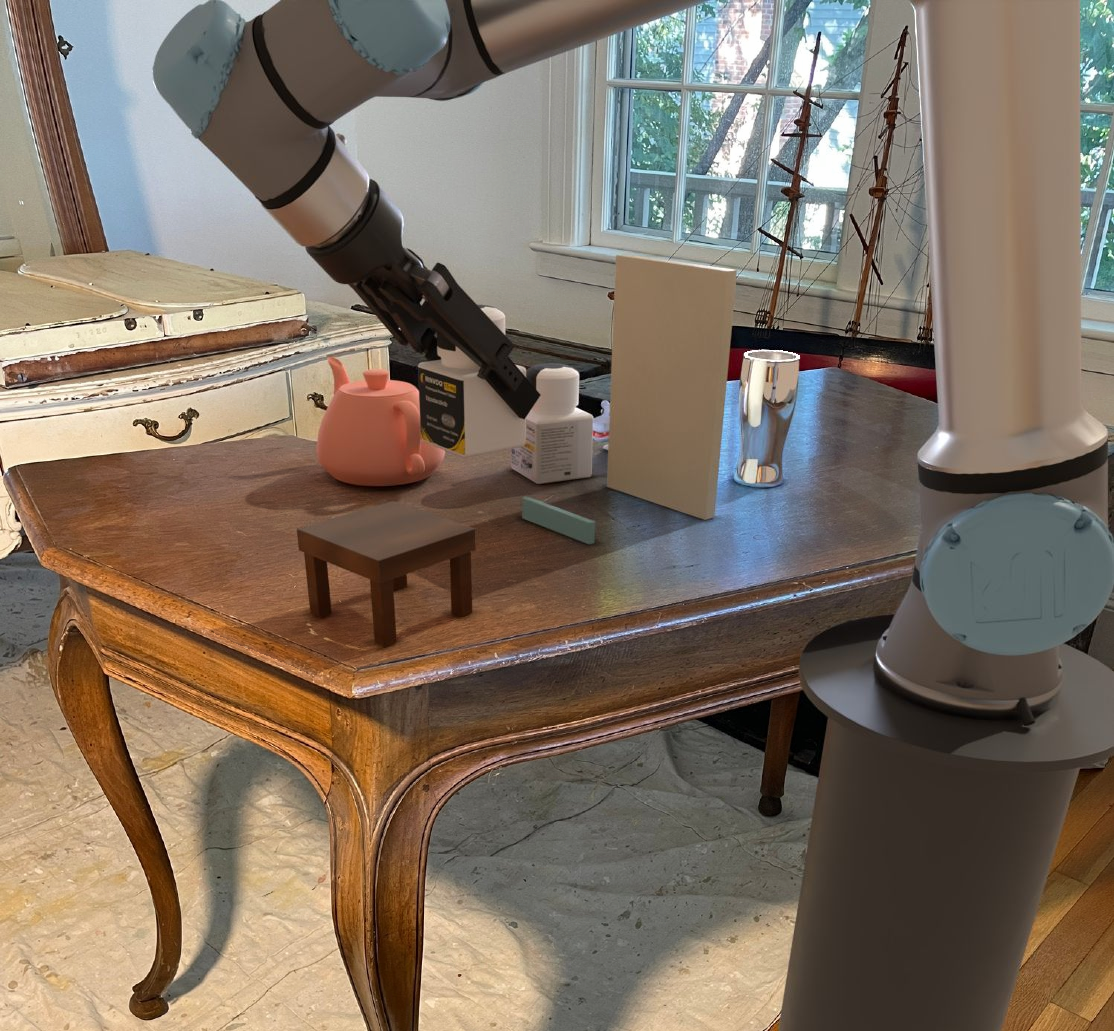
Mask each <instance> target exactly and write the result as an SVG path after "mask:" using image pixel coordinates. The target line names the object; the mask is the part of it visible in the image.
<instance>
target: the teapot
mask: <svg viewBox="0 0 1114 1031" xmlns="http://www.w3.org/2000/svg"><path fill="white" fill-rule="evenodd" d="M327 363H328V365H329V367H330V369H331V372H332V376H333V396H332V398H331V400H330V402H329V404H328V405H327V408H326V410H325V412H324V413H323V414H324V415H323V416H322V419H321V422H320V425H319V428H318V431H317V432H318V433H317V438H316V458H317V460H318V462H319V463H320V465H321V466H322V467H323V468H324V469H325V471H327V472H328V474H330V475H331V476H332V477H333V478H334V479H335V480H338V481H340V482H343V483H346V484H350V485H356V486H364V487H390V486H391V487H392V486H398V485H399V486H400V485H407V484H412V483H415V482H420V481H422V480H425V479H427V478H429V477H431V476H432V475H433V474H434V473H435V471H436V470H437V469H438V467H440V465H441V463H442V462H443V460H444V458H445V456H446V455H445V454H446V451H445V450H443V449H440V448H438V447H435V446H432V445H430V444H427V443H425V442H423V441H422V440H421V428H420V405H419V389H418V388H417V386H416V385H413V384H412V383H409V382H406V381H401V380H396V379H395V380H394V379H389V378H390V371H389V370H386V369H382V368H373V369H372V368H371V369H367V370H364V371H363V372H362V376H363V378H364V380H357V381H352V382H351V380H350V377H349V374H348V372H347V369H346V367H345V365H344V364H343V362H341V360H339V359H338V358H337V357H333V356H328V357H327Z"/></svg>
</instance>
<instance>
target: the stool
mask: <svg viewBox="0 0 1114 1031" xmlns="http://www.w3.org/2000/svg"><path fill="white" fill-rule="evenodd" d="M296 535H297V536H296V538H297V545H298V551H299V552H302V553H303V556H304V566H305V575H306V585H307V595H308V604H309V614H311V615H312V616H315V617H317V618H319V619H320V618H323V617H325V616H329V615H331V614H333V613H332V612H333V611H332V602H331V589H330V580H329V569H328V563H329V564H330V565H334V566H336V567H338V568H341V569H343V570H346V571H348V572H351V573H353V574H355V575H357V576H359V577H363V578H366V579H368V580H369V585H370V586H369V587H370V600H371V614H372V627H373V639H374V641H373V642H374V643H375V644H377V645H378V646H381V647H383V648H387V647H390V646H392V645H395V644H397V643H398V640H397V638H398V637H397V622H396V606H395V605H396V604H395V592H394V590H395V591H398V590H401V589H404V588H408V574H412V573H414V572H417V571H419V570H423V569H426V568H428V567H431V566H435V565H438V564H440V563H442V562H443V563H444V562H447V561H449V575H450V576H449V580H450V582H449V583H450V611H451V614H453V615H456V616H458V617H460V618H462V617H463V618H464V617H465V616H468V615H470V614H473V582H472V581H473V578H472V577H473V576H472V575H473V574H472V552H475V551H476V550H477V544H476V542H477V541H476V540H477V538H476V528H474V527H471V526H468V525H466V524H462V523H460V522H457V521H454V520H450V519H447V518H445V517H441V516H438V515H436V514H434V513H430V512H427V511H424V510H421V509H418V508H415V507H412V506H410V505H406V504H404V503H400V502H397V501H394V500H393V501H388V502H385V503H381V504H378V505H374V506H371V507H367V508H365V509H361V510H357V511H354V512H350V513H347V514H344V515H339V516H336V517H333V518H329V519H327V520H322V521H319V522H315V523H312V524H309V525H305V526H302V527H297V528H296Z"/></svg>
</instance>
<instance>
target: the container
mask: <svg viewBox="0 0 1114 1031" xmlns="http://www.w3.org/2000/svg"><path fill="white" fill-rule="evenodd" d="M526 378H527V379H528V380H529V382H530V383H531V384H532V385H533V386H534V387H535V389H536V390H537V391H538V392H539V393H540V395H541V396H540V397H539V399H538V400H537V402H536V403H535V405H534V406H533V408H532V409H531V411H530V412H529V414H528V415H527V417H526V443H525V445H524V446H523V447H518V448H513V449H510V467H511V469H512V470H514V471H515V472H516V473H519V474H520V475H521V476H523V477H525V478H527V479H528V480H530V481H531V482H533V483H534V484H537V485H543V484H544V485H545V484H549V483H556V482H557V483H558V482H564V481H565V482H566V481H571V480H579V479H587V478H591V477H592V474H593V473H592V469H593V444H594V442H593V440H594V439H593V418H594V416H593V414H591V413H589V412H587V411H585V410H582V409H580V408H578V407H577V406H579V403H580V402H579V398H580V396H579V394H580V392H579V391H580V372H579V371H578V370H577V369H576V368H575V367H573V366H570V365H568V364H563V363H552V362H551V363H538V364H535V365H532V366H531V367H529V368H527V369H526Z"/></svg>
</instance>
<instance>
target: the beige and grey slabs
mask: <svg viewBox="0 0 1114 1031" xmlns="http://www.w3.org/2000/svg"><path fill="white" fill-rule="evenodd" d="M737 273H738V270H737V269H733V268H725V267H718V266H712V265H704V264H698V263H691V262H684V261H678V260H677V261H676V260H669V259H663V258H654V257H649V256H642V255H634V254H628V253H625V254H616V255H615V272H614V276H615V277H614V295H613V317H612V318H613V320H612V344H611V346H612V347H611V348H612V349H611V370H610V371H611V372H610V397H609V403H610V419H609V441H608V443H607V444H608V450H607V474H606V487H607V488H609V489H611V490H615V491H618V492H621V493H624V494H627V495H629V496H633V497H635V498H638V499H640V500H641V499H642V500H645V501H648V502H651V503H653V504H657V505H660V506H662V507H666V508H668V509H671V510H674V511H676V512H680V513H683V514H686V515H689V516H692V517H695V518H697V519H701V520H703V521H707V520H710V519H714V518H715V515H716V505H717V504H716V503H717V502H716V501H717V493H718V484H719V483H718V482H719V472H720V459H721V450H722V449H721V448H722V438H723V429H724V428H723V427H724V419H725V418H724V415H725V407H726V406H725V404H726V395H727V384H728V375H729V374H728V372H729V363H730V362H729V361H730V352H731V350H730V349H731V340H732V329H733V318H734V309H735V308H734V307H735V297H736V285H737V284H736V283H737ZM521 503H522V504H521V509H522V510H521V518H522V519H523V520H526V521H528V522H531V523H533V524H536V525H539V526H541V527H544V528H546V529H548V530H551V531H553V532H556V533H558V534H561V535H564V536H567V537H568V538H571V539H574V540H576V541H579V542H581V543H584V544H587V545H593V544H595V537H596V536H595V533H596V521H594V520H593V519H590V518H586V517H584V516H581V515H578V514H576V513H573V512H571V511H567V510H565V509H563V508H560V507H557V506H554V505H552V504H549V503H546V502H543V501H541V500H538V499H535V498H533V497H530V496H524V497H522V498H521Z"/></svg>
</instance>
